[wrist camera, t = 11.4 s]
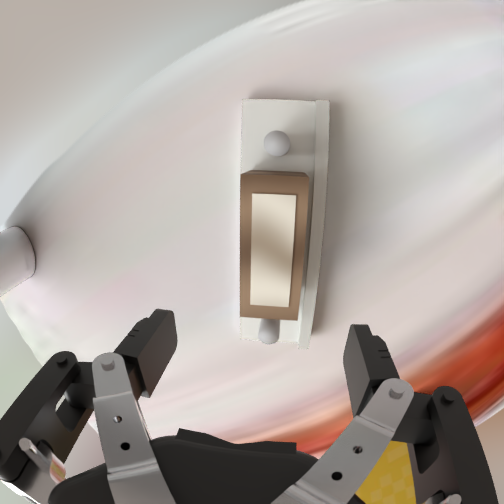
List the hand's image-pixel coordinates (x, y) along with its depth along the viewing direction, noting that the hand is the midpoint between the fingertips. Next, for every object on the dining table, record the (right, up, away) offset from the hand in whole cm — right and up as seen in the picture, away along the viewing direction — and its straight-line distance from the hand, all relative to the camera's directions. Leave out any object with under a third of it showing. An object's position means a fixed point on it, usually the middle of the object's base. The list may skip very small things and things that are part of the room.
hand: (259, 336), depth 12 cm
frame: (+2, +6, +16) cm, 17 cm away
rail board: (+3, +6, +17) cm, 18 cm away
